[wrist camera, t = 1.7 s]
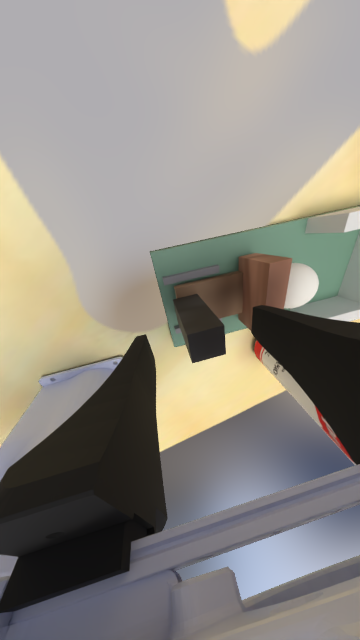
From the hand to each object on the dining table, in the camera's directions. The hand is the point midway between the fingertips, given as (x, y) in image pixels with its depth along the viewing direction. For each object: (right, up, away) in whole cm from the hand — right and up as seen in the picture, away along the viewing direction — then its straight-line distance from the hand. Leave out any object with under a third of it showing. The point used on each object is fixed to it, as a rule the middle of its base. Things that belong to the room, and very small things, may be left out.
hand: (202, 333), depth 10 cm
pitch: (+7, +5, +7) cm, 11 cm away
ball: (+8, +4, +4) cm, 10 cm away
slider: (+2, +3, +5) cm, 6 cm away
